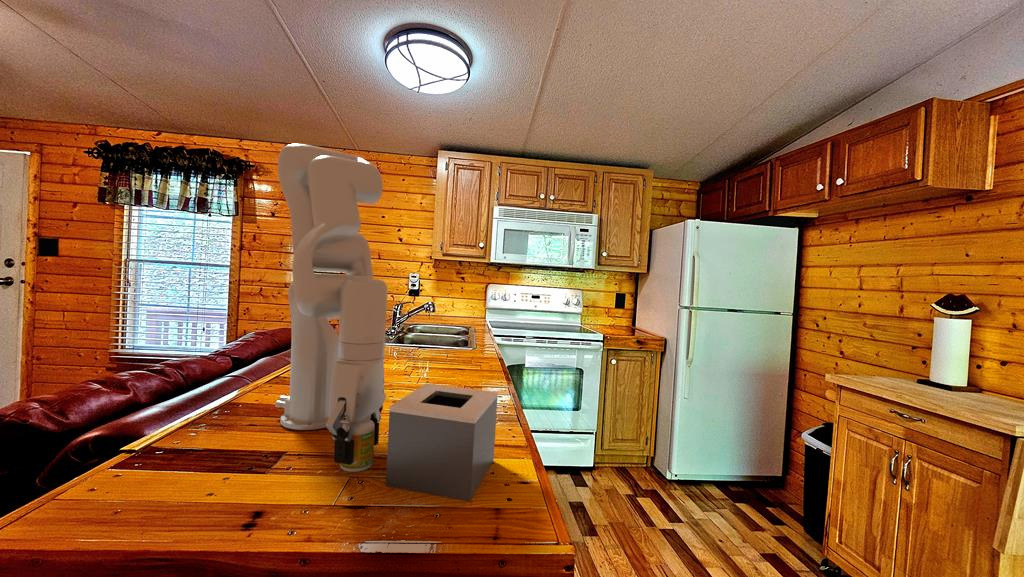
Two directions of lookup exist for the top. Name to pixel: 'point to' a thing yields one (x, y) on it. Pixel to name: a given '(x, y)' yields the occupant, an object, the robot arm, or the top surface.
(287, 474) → the top surface
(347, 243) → the robot arm
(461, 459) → the box
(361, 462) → the supplement bottle
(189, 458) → the top surface
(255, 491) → the top surface
